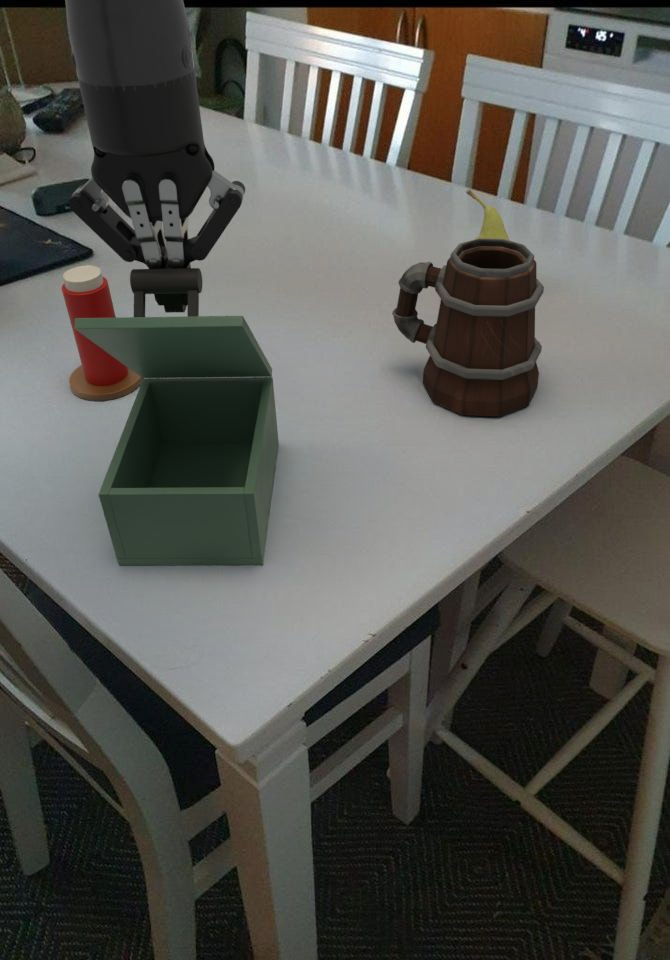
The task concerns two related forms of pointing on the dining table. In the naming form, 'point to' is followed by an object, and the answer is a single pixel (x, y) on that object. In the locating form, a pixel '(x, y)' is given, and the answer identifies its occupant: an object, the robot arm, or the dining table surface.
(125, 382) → the disc
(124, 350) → the chest lid
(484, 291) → the mug
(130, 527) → the chest
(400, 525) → the dining table surface
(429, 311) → the dining table surface
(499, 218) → the fruit
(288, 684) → the dining table surface
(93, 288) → the sauce bottle
